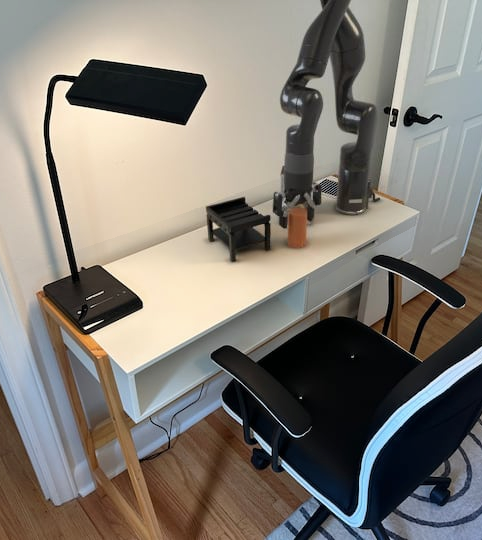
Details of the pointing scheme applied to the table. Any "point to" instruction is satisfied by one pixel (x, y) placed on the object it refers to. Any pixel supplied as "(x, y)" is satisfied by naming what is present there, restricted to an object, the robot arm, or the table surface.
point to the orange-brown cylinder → (297, 227)
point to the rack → (237, 225)
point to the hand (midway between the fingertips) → (296, 223)
